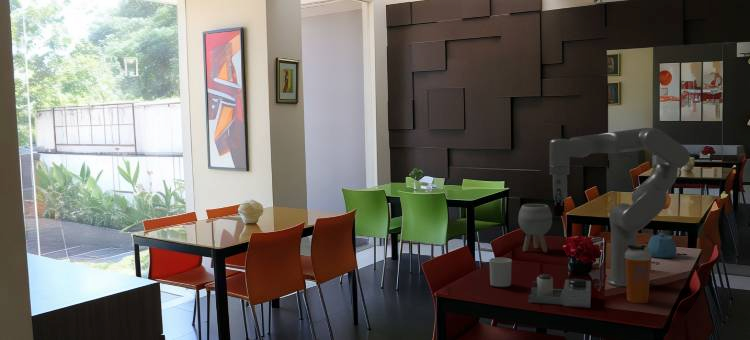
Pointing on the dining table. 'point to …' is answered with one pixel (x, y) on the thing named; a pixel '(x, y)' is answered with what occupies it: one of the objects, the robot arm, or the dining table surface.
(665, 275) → the dining table surface
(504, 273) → the mug
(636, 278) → the shaker bottle
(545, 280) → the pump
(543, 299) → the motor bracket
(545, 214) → the grey tooth model
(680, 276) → the dining table surface
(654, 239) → the teapot
